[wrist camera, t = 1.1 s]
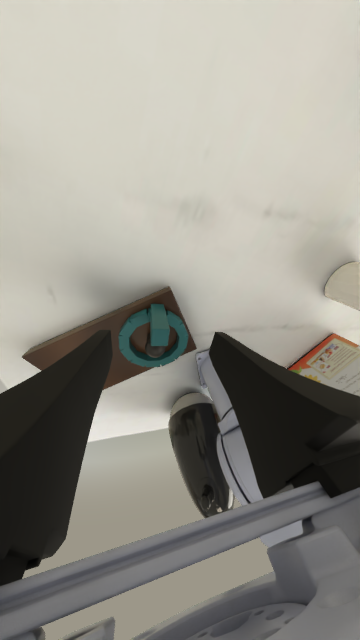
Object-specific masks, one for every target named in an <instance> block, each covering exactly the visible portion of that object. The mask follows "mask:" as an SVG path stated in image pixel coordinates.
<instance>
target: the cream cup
mask: <svg viewBox="0 0 360 640" xmlns="http://www.w3.org/2000/svg"><path fill="white" fill-rule="evenodd" d="M324 293H325V296H326V297H328V298H330V299H332V300H335V301H337V302H340V303H342V304H345V305H347V306H349V307H352V308H354V309H357V310H359V311H360V262H353V263H347V264H345V265H343V266H341V267H340V268H339V269H338V270H336V271H335V272H334V273H333V275H332V276H331V277H330V278H329V280H328V282H327V284H326V286H325V291H324Z"/></svg>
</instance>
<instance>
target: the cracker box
mask: <svg viewBox="0 0 360 640" xmlns="http://www.w3.org/2000/svg"><path fill="white" fill-rule="evenodd" d="M288 370H290V371H293V372H295V373H297V374H300V375H302V376H304V377H307V378H309V379H312V380H314V381H317V382H319V383H322V384H325V385H327V386H330V387H333V388H336V389H339V390H342V391H345V392H348V393H351V394H354V395H357V396H360V346H359V345H357V344H355V343H353V342H351V341H349V340H347V339H345V338H343V337H340V336H338V335H336V334H332V335H330V336H329V337H328V338H327V339H326V340H324V341H323V342H322V343H321V344H319V345H318V346H317V347H316V348H314V349H313V350H312V351H311V352H309V353H308V354H307V355H306V356H304V357H303V358H302V359H301V360H299V361H298V362H297V363H296V364H294V365H293V366H292V367H291V368H289V369H288Z"/></svg>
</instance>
